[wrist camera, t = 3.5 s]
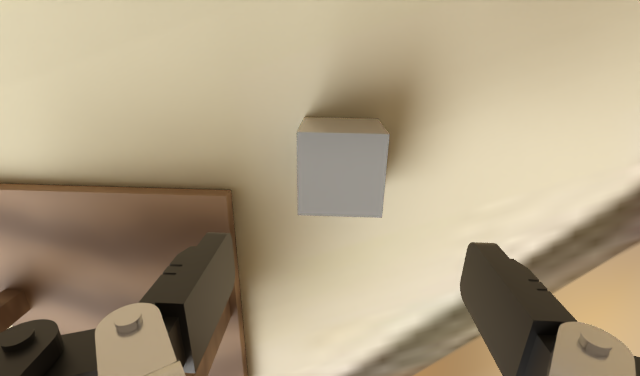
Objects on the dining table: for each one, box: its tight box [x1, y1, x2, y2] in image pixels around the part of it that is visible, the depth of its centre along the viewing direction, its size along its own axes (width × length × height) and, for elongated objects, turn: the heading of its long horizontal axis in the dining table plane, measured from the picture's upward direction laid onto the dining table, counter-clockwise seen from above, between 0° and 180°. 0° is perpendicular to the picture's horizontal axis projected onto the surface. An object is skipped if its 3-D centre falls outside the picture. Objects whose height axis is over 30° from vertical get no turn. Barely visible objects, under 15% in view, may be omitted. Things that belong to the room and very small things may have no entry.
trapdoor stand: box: [0, 184, 248, 376], centre depth 23 cm, size 20×20×13 cm
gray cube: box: [297, 117, 390, 218], centre depth 21 cm, size 5×5×5 cm
